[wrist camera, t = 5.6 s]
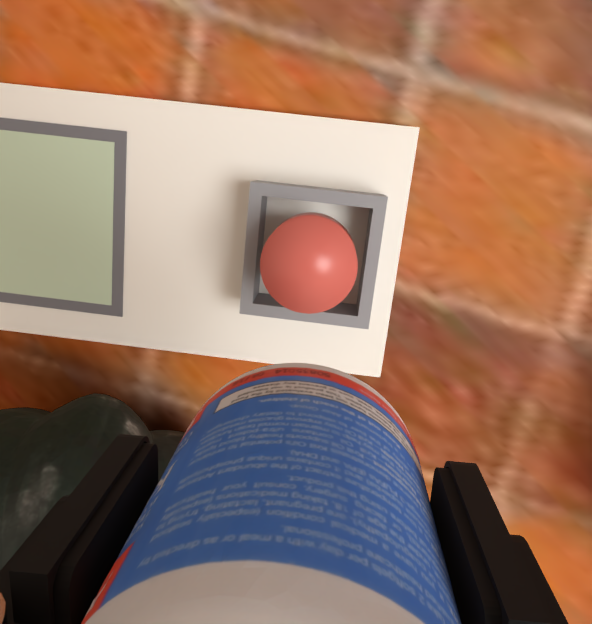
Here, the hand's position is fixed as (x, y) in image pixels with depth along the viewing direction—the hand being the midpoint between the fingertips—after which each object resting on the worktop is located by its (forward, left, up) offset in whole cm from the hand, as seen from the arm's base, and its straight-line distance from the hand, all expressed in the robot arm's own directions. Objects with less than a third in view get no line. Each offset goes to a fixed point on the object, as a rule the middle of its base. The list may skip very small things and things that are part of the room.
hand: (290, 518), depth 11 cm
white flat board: (-3, -7, -15) cm, 17 cm away
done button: (-3, 0, -13) cm, 13 cm away
